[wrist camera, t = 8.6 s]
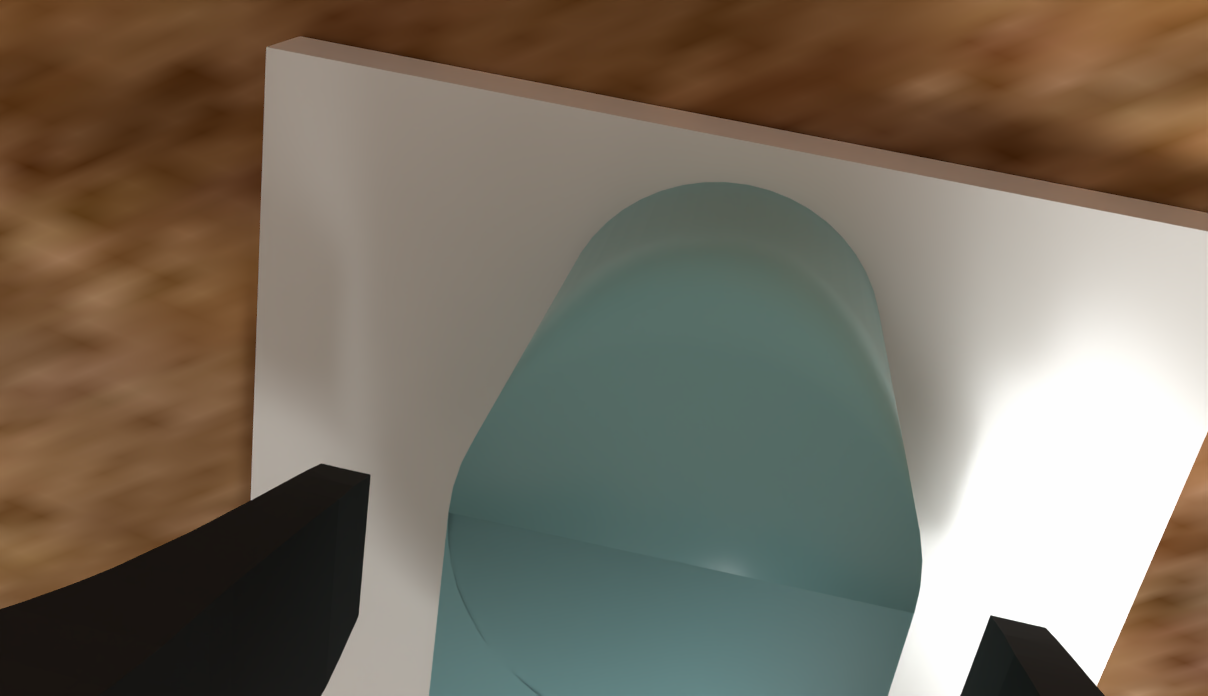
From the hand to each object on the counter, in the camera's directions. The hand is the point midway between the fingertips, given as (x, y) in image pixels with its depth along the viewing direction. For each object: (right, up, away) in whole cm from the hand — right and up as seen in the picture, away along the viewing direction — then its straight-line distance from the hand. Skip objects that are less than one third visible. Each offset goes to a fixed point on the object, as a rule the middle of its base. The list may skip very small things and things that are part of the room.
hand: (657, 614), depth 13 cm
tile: (0, 0, +4) cm, 4 cm away
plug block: (0, 0, +3) cm, 3 cm away
